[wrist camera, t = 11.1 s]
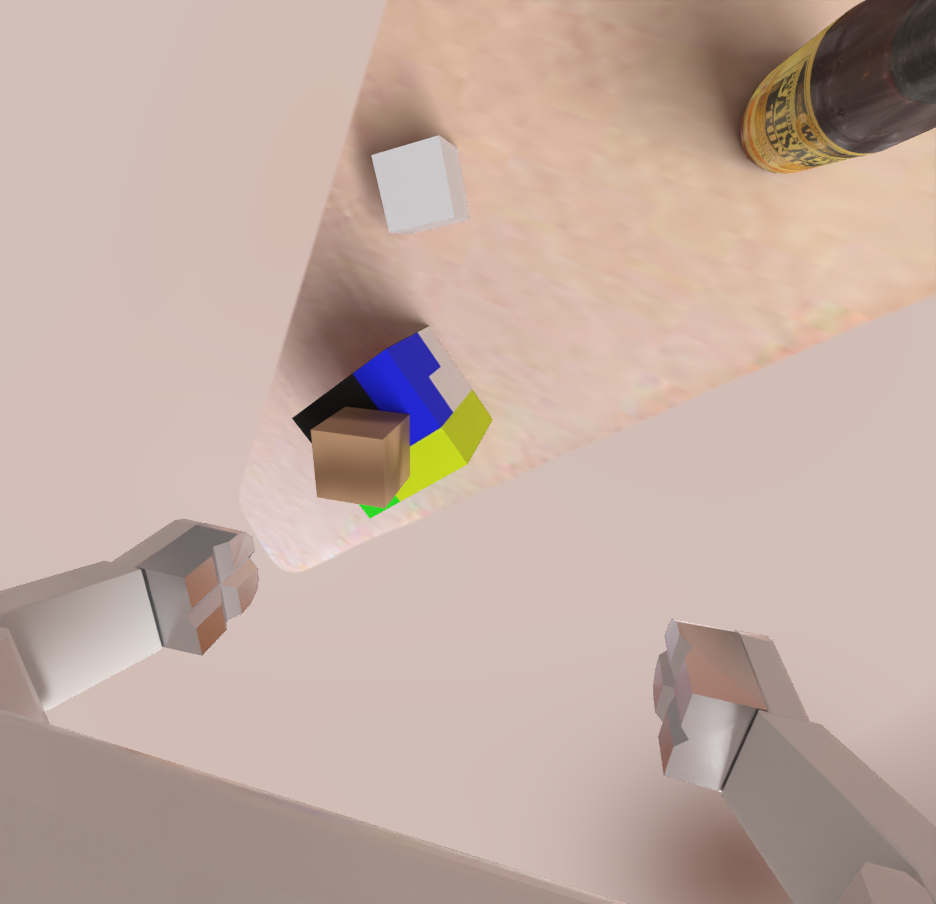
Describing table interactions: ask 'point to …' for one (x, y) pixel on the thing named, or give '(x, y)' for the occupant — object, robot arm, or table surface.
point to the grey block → (421, 186)
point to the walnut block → (361, 456)
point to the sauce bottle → (847, 89)
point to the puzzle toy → (413, 408)
